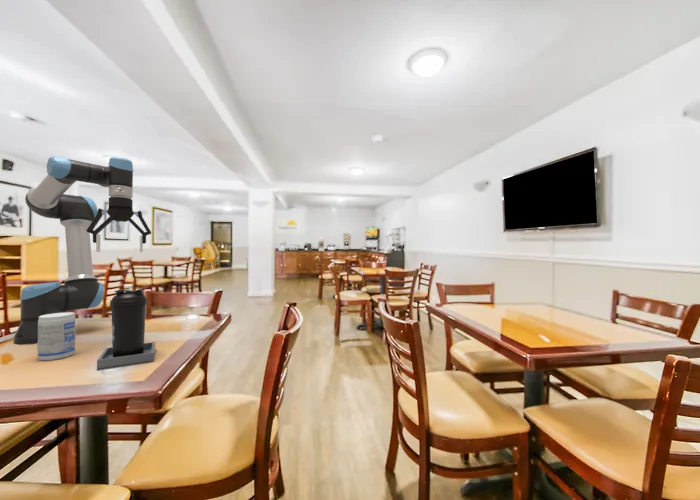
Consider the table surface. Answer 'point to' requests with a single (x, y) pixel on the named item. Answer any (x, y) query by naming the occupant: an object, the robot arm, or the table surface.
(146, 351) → the tray
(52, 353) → the supplement tub
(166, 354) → the table surface
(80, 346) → the table surface
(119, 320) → the water bottle
